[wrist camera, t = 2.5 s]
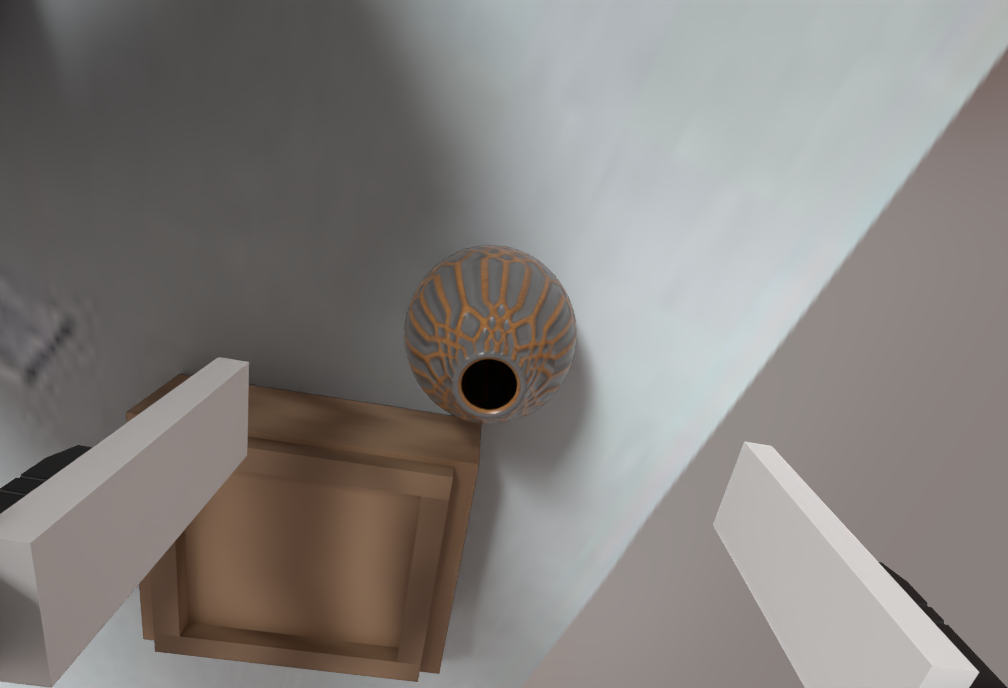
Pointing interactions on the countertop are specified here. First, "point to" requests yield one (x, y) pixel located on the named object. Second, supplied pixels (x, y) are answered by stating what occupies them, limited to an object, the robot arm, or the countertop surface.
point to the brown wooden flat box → (322, 540)
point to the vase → (490, 334)
